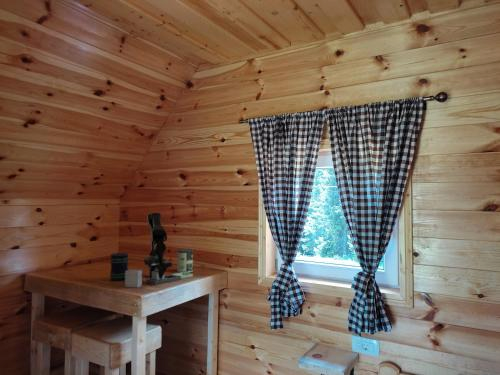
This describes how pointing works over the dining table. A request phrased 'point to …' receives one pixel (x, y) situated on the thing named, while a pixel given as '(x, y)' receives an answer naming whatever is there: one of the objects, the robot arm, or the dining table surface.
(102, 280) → the dining table surface
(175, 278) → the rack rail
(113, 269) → the storage jar
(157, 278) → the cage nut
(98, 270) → the dining table surface
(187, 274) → the parts tray
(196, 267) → the dining table surface
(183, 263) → the coffee can
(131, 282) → the medicine box
